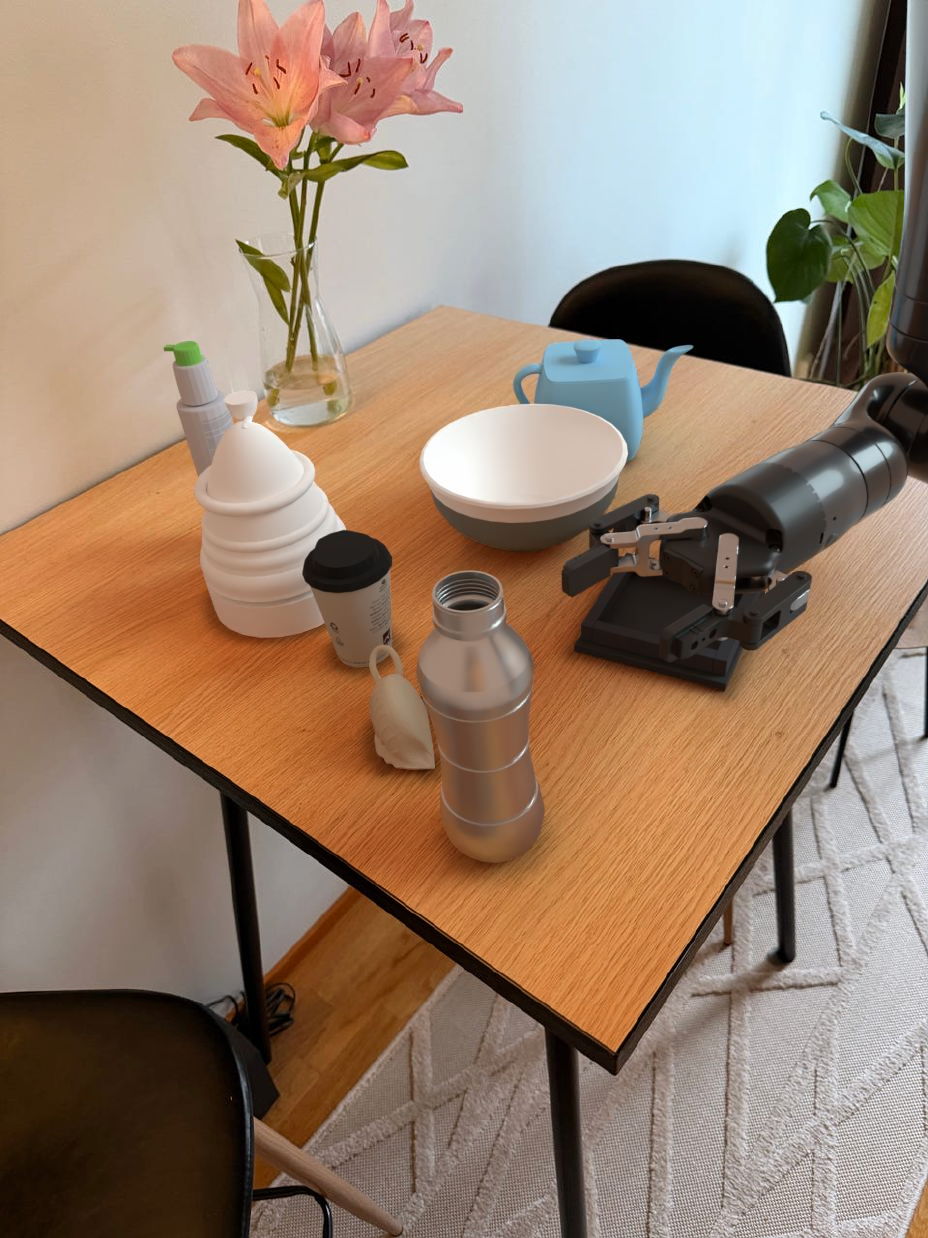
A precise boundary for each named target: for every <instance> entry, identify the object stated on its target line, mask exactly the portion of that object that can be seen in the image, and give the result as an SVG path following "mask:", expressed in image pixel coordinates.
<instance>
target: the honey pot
mask: <svg viewBox="0 0 928 1238" xmlns="http://www.w3.org/2000/svg"><path fill="white" fill-rule="evenodd" d="M224 401H225V404H226V407H227V409H228V410H229V412H230V413H231V416H232V417H234V418H235V419H237V420H239V421H237V422H234V425H232V426H231V427H230V428H229V429H228V430H227V431H226V432H225V433H224V435H223V436H222V438H221V440H220V442H219V444H218V446H217V448H216V451H215V454H214V457H213V460H212V464H211V466H209V467H208V468H207V469H206V470H205V471H203V472H202V473H201V474H200V475H199V477H198V476H197V479H196V480H195V482H194V484H193V496H194V498H195V500H196V502H197V504H198V506H200V507H202V508H203V509H204V513H203V515H202V517H201V547H200V551H199V553H200V554H199V565H200V569H201V571H202V573H203V578H204V580H205V585H206V588H207V590H208V593H209V596H210V599H211V603H212V605H213V608H214V611H215V613H216V615H217V617H218V620H219V622H221V624H222V625H224V626H225V627H226V628H227V629H229V630H230V631H233V632H235V633H238V634H240V635H242V636H247V637H252V638H259V639H270V638H283V637H289V636H294V635H299V634H302V633H305V632H308V631H311V630H313V629H316V628H318V627H320V626H323V625H325V622H324V620H323V617H322V615H321V612H320V610H319V607H318V605H317V602H316V600H315V597H314V595H313V593H312V590H311V588H310V585H309V584H307V583H306V582H305V580H304V577H303V575H302V571H303V565H304V561H305V559H306V557H307V556H308V554H309V553H310V551H312V550H313V549H314V548H315V546H316V543H317V541H318V540H319V539H320V538H322V537H324V536H326V535H328V534H330V533H334V532H338V531H341V530H347V528H346V525H345V524H344V522H343V521H342V520H341V518H340V516H339V515H338V514H337V513H336V511H335V508H334V507H333V506H332V505H331V503H330V501H329V498H328V495H326V493H325V492H324V490H322V489H323V488H321V487H319V486H318V485H317V483H316V482H315V478H316V469H315V465H314V463H313V462H312V461H311V460H310V458H309V457H308V456H307V455H305V454H303V453H301V452H300V451H297V450H295V449H294V450H293V449H290V448H289V447H288V446H287V444H286V443H285V442H284V441H283V440H282V439H281V438H280V437H278V436H277V435H276V433H274V432H273V431H271V430H270V429H268V428H267V427H266V426H264V425H262V424H260V423H258V422H254V421H253V419H254V416H255V415H256V413H257V411H258V394H257V392H256V391H254V390H250V389H243V390H237V391H234V392H231V393H229V394H226V397H225V399H224Z"/></svg>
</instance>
